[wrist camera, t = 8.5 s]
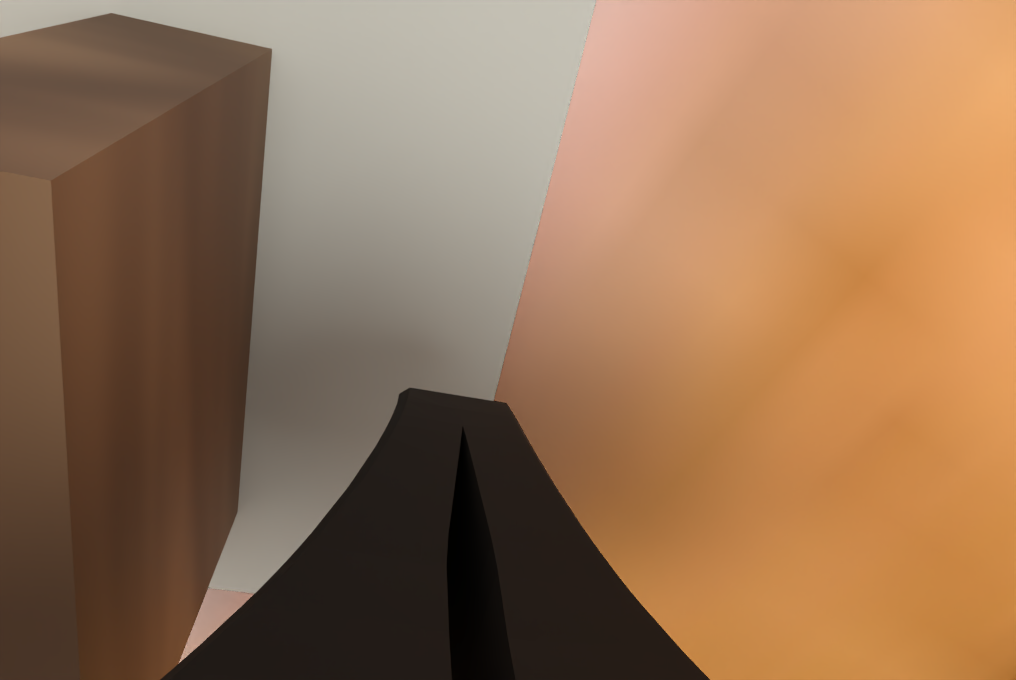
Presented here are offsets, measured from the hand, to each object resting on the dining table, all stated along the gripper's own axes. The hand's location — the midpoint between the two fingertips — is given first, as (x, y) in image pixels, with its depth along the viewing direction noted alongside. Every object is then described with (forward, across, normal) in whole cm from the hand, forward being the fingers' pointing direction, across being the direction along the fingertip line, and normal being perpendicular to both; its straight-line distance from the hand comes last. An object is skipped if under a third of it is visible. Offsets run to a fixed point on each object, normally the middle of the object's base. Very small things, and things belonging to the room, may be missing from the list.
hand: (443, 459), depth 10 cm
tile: (+3, +4, 0) cm, 5 cm away
